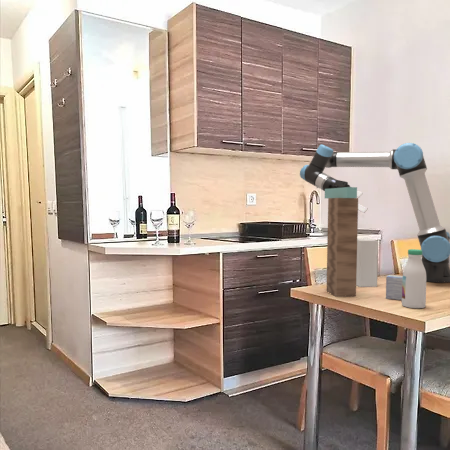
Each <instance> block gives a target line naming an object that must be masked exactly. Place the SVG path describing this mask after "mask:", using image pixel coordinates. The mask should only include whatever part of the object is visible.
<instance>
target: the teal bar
mask: <svg viewBox="0 0 450 450" xmlns="http://www.w3.org/2000/svg"><path fill="white" fill-rule="evenodd" d="M357 190H358V187H354V186H350V187H343V188H331V189H325V191H324V199H328V198H358V197H357Z"/></svg>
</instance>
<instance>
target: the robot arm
mask: <svg viewBox="0 0 450 450" xmlns="http://www.w3.org/2000/svg"><path fill="white" fill-rule="evenodd" d="M315 150H316V151H315V153H314V155H313V157H312V159H311V160H310V163H309V164H305V165H303V167H301V168H300V170H299V177H300V178H301V179H302V180H304V181H305V182H307V183H309V184H311V185H313V186H314V187H316V189H320V190H321V191H323V192H325V189H331V188H343V187H351V185H350V184H349V183H348V181H345V180H341V179H340V180H339V179H336V178H334V177H333V176H331V175H329V174H326V173H325V172H324V170H325V169H326V168H329V169H330V168H388V169H389V168H390V170H397V172H398V175H399V178H401V179H403V180H404V182H405V186H406V188H407V193H408V196H409V200H410V202H411V206H412V209H413V212H414V216H415V219H416V223H417V226H418V230H419V231H418V232H417V238H418V239H417V240H418V242H419V245H420V250H422V257H421V259H422V263H423V265H424V268H425V270H426V282H430V283H450V264H449V263H450V232H449V231H447V230H446V227H444V226H442V225H441V223H440V221H439V220H440V219H439V217H438V214H437V209H436V207H435V203H434V200H433V197H432V194H431V190H430V187H429V183H428V181H427V177H426V172H427V170H428V168H427V164H426V160H425V156H424V152H423V149H422V148H421V146H420V145H418V144H416V143H414V142H405V143H403V144H401V145H400V146H398V147H396V149H394V148H392V150H391V151H390V150H389V151H347V152H346V151H345V152H343V151H342V152H341V151H340V152H339V151H335V152H334V149H333V148H331V147H329V146H327V145H324V144H322V143H321V144H319V146H318V147H317V149H315ZM362 195H363V192H362V191H360V190H358V189H357V198H358V199H359V198H361V196H362ZM359 211H360V213H363V214H366V212H367V211H369V210H368V207H366V206H364V205H362V204H361V203H359V202H358V212H359Z"/></svg>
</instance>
